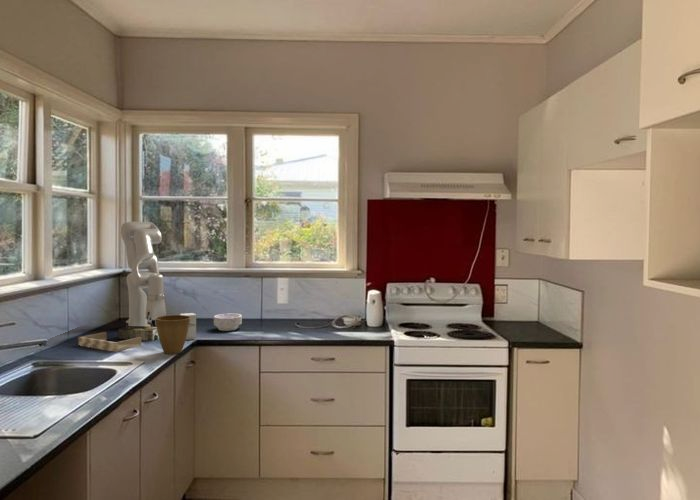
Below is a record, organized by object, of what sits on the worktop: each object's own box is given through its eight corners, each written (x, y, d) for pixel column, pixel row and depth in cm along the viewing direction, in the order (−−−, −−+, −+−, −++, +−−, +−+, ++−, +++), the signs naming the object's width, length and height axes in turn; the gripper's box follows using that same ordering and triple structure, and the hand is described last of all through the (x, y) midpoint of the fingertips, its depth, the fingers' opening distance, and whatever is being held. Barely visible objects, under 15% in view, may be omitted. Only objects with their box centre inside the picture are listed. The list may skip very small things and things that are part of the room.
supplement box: (181, 340, 254) (181, 315, 254) (179, 337, 261) (178, 313, 260) (196, 339, 258) (196, 314, 257) (193, 336, 264) (193, 312, 264)
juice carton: (164, 337, 264) (164, 325, 263) (155, 341, 254) (154, 329, 254) (127, 336, 266) (127, 325, 265) (117, 340, 256) (116, 328, 256)
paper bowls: (228, 333, 273) (228, 318, 272) (207, 330, 280) (207, 316, 280) (247, 328, 286) (247, 314, 286) (227, 325, 293) (227, 312, 293)
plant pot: (165, 358, 220) (165, 321, 219) (149, 352, 230) (149, 317, 229) (196, 352, 230) (196, 317, 230) (180, 347, 241) (180, 313, 240)
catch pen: (78, 345, 243) (78, 337, 243) (105, 339, 256) (104, 332, 256) (115, 351, 231) (115, 343, 231) (141, 345, 243) (141, 337, 243)
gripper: (162, 295, 275) (162, 329, 276) (139, 299, 262) (139, 334, 263) (172, 296, 272) (172, 330, 273) (149, 300, 259) (150, 335, 259)
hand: (156, 332), depth 268 cm, fingers closed
